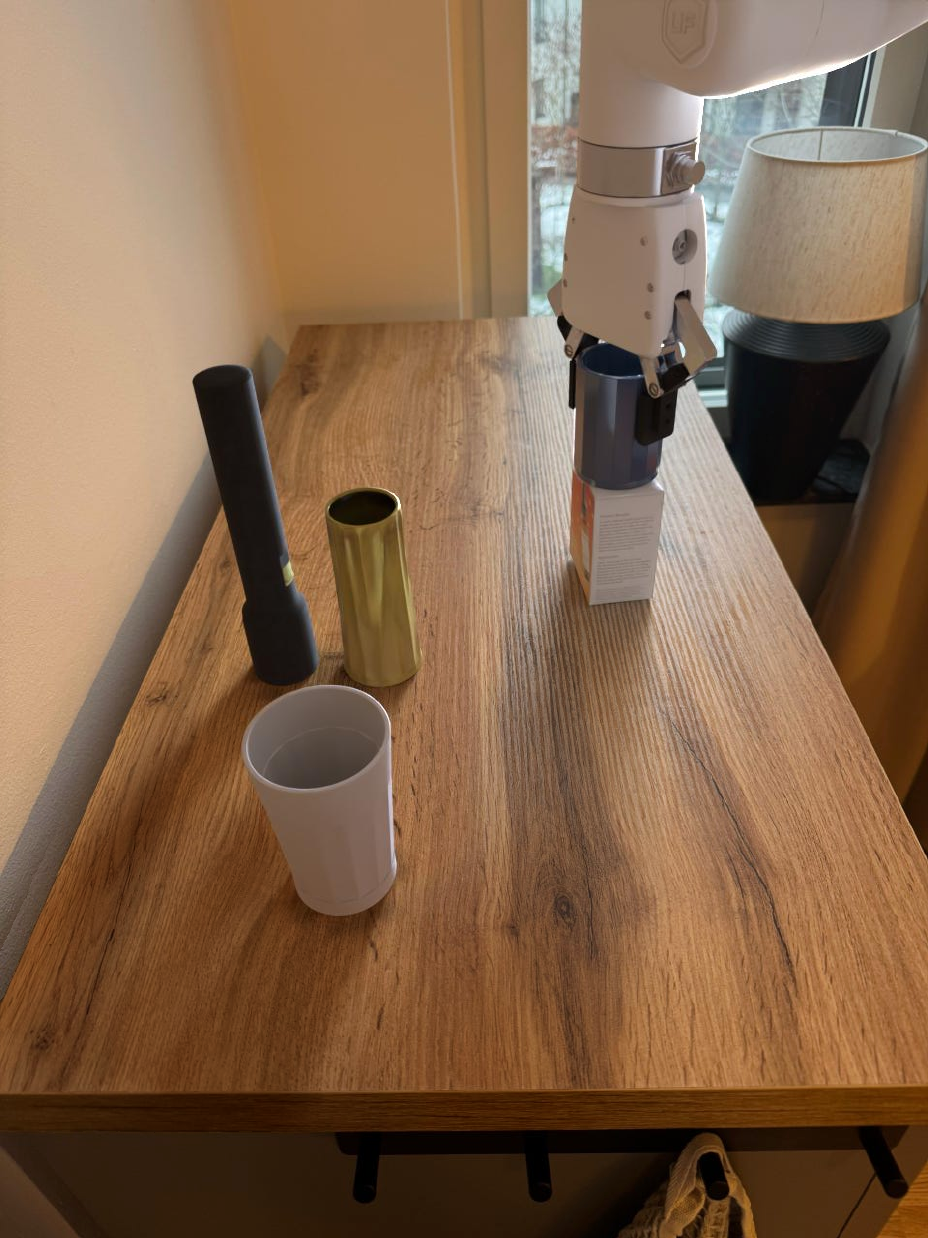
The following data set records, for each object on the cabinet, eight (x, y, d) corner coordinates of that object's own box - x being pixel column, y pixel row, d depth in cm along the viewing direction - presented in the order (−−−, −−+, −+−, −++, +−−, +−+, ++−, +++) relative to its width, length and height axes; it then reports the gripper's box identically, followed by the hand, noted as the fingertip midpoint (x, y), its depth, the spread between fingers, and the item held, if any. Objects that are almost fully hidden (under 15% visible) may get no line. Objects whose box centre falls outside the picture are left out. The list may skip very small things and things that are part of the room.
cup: (256, 907, 55) (212, 772, 47) (317, 806, 61) (286, 672, 53) (377, 944, 53) (351, 809, 45) (429, 837, 58) (413, 701, 51)
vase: (404, 696, 68) (384, 537, 59) (330, 679, 70) (301, 522, 61) (434, 645, 73) (420, 489, 64) (364, 630, 75) (341, 477, 66)
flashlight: (243, 680, 71) (302, 691, 69) (164, 388, 56) (238, 395, 54) (272, 639, 74) (329, 649, 73) (205, 355, 59) (275, 361, 58)
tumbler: (668, 455, 73) (680, 346, 68) (645, 496, 69) (655, 384, 63) (588, 441, 76) (593, 336, 70) (561, 481, 71) (563, 371, 65)
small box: (568, 552, 82) (571, 447, 75) (630, 546, 82) (638, 440, 76) (587, 607, 76) (592, 497, 69) (654, 600, 76) (665, 490, 69)
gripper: (785, 180, 54) (741, 448, 66) (589, 136, 66) (580, 371, 77) (696, 206, 51) (666, 483, 63) (506, 155, 63) (510, 397, 74)
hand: (619, 419), depth 70 cm, fingers closed on tumbler, 6 cm apart
